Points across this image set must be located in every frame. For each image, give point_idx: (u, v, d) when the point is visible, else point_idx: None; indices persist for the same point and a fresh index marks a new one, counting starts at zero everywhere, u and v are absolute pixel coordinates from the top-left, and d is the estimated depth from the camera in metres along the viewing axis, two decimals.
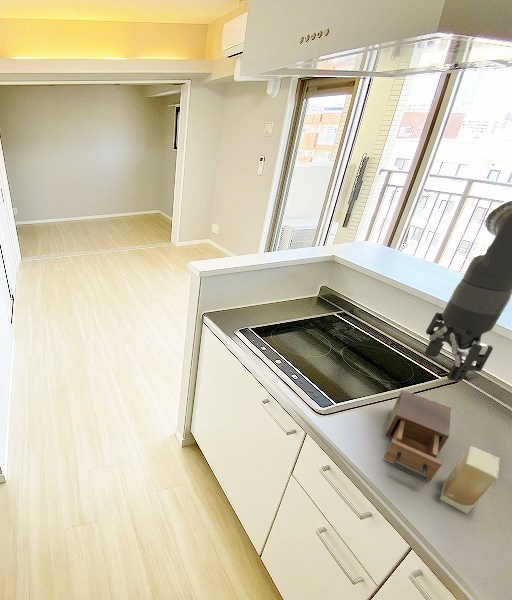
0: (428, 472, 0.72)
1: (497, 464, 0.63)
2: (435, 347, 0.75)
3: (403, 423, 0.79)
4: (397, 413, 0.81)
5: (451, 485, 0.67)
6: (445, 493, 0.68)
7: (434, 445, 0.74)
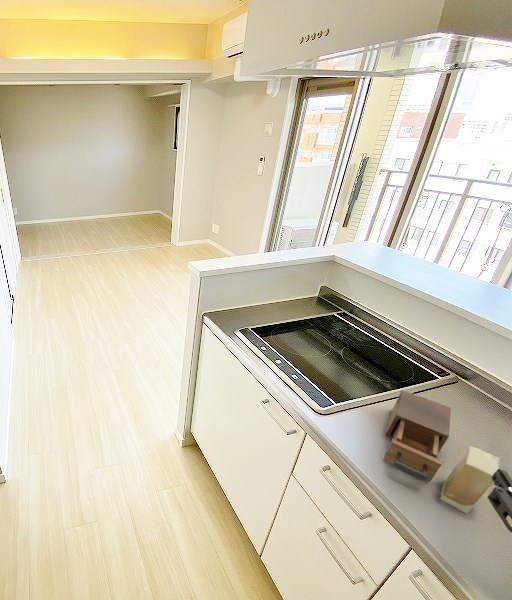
0: (428, 472, 0.72)
1: (497, 464, 0.63)
2: None
3: (403, 423, 0.79)
4: (397, 413, 0.81)
5: (451, 485, 0.67)
6: (445, 493, 0.68)
7: (434, 445, 0.74)
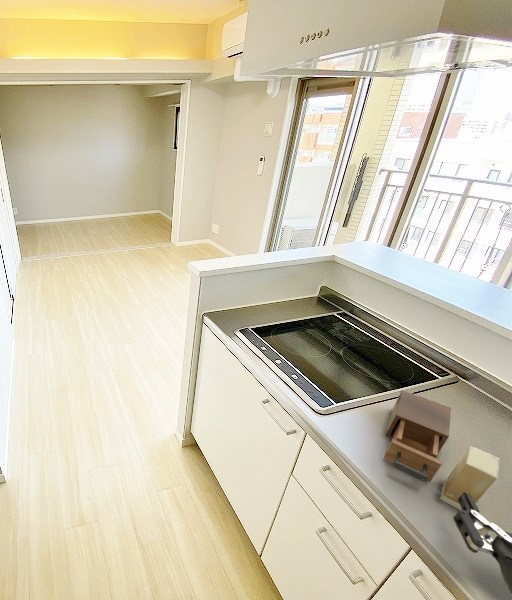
0: (428, 472, 0.72)
1: (497, 464, 0.63)
2: None
3: (403, 423, 0.79)
4: (397, 413, 0.81)
5: (451, 485, 0.67)
6: (445, 493, 0.68)
7: (434, 445, 0.74)
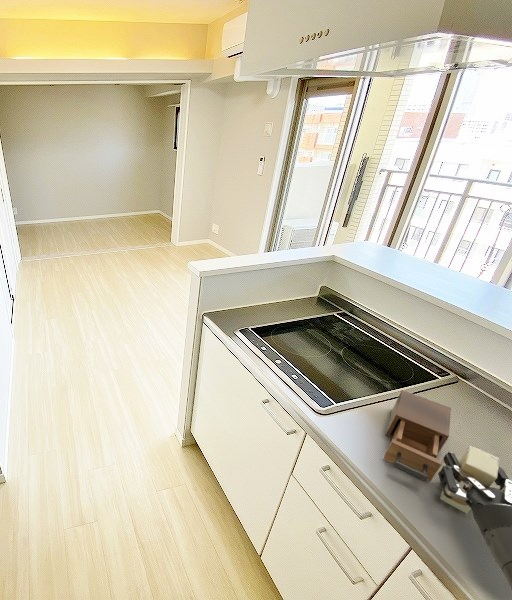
0: (428, 472, 0.72)
1: (497, 464, 0.63)
2: None
3: (403, 423, 0.79)
4: (397, 413, 0.81)
5: None
6: None
7: (434, 445, 0.74)
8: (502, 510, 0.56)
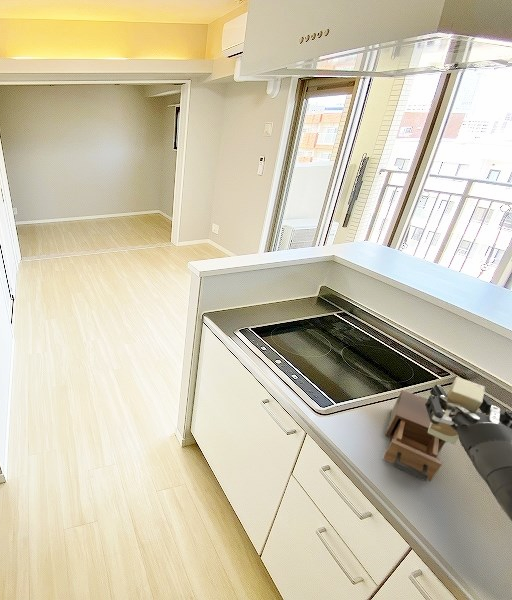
0: (428, 472, 0.72)
1: (482, 391, 0.64)
2: None
3: (403, 423, 0.79)
4: (397, 413, 0.81)
5: None
6: (432, 426, 0.69)
7: (434, 445, 0.74)
8: (486, 427, 0.56)
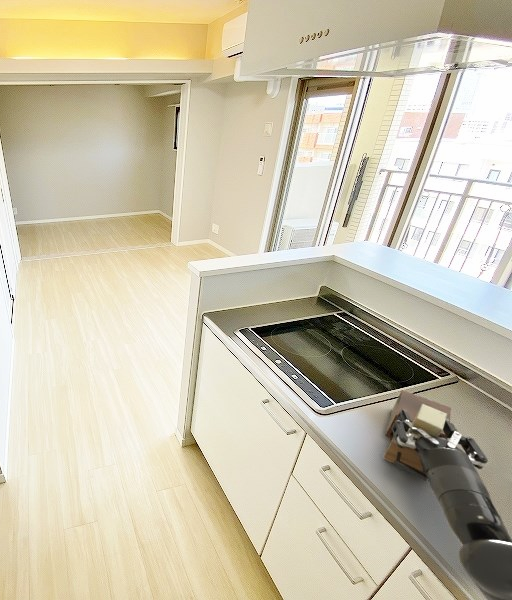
0: None
1: (444, 418, 0.71)
2: None
3: None
4: (397, 413, 0.81)
5: None
6: None
7: None
8: (442, 452, 0.63)
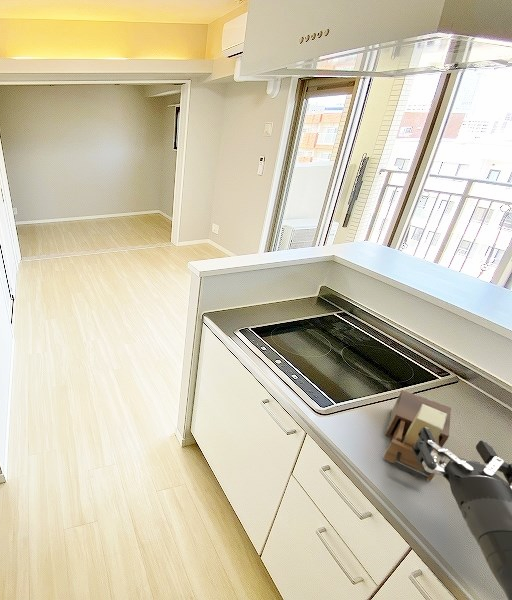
0: None
1: (444, 418, 0.71)
2: None
3: (403, 423, 0.79)
4: (397, 413, 0.81)
5: (405, 440, 0.75)
6: None
7: None
8: (479, 481, 0.53)
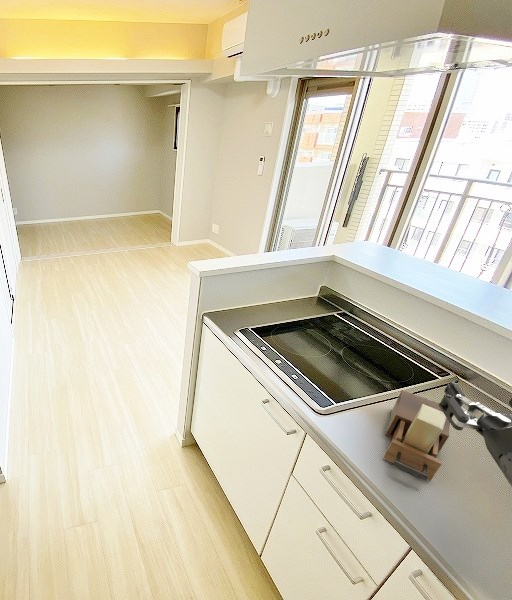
0: (428, 472, 0.72)
1: (444, 418, 0.71)
2: None
3: (403, 423, 0.79)
4: (397, 413, 0.81)
5: (405, 440, 0.75)
6: None
7: (434, 445, 0.74)
8: None
